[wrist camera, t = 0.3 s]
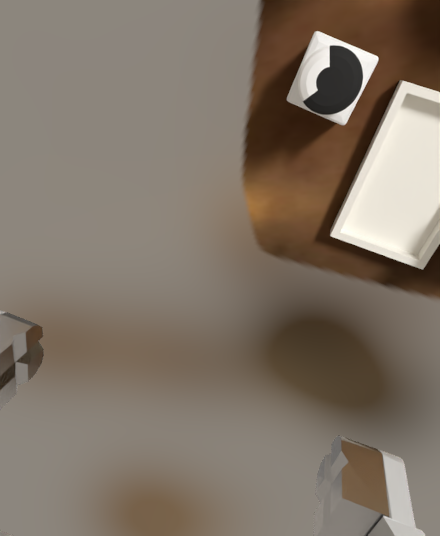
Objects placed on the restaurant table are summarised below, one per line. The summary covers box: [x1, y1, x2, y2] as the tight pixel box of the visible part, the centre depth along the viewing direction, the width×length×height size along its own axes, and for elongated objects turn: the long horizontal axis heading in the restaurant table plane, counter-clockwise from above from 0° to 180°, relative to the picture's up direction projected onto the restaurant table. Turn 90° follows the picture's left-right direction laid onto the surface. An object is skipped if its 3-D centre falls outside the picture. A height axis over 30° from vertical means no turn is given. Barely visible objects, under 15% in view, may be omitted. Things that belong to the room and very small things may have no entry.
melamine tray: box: [330, 80, 440, 270], centre depth 48 cm, size 20×13×2 cm, turn 164°
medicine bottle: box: [287, 31, 379, 125], centre depth 42 cm, size 7×7×12 cm
